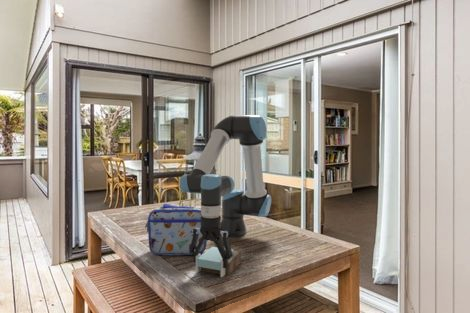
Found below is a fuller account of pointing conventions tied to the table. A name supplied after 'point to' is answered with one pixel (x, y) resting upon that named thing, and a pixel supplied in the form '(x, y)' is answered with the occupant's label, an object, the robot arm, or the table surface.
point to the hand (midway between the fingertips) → (210, 273)
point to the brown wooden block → (231, 264)
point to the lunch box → (173, 229)
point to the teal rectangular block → (211, 259)
